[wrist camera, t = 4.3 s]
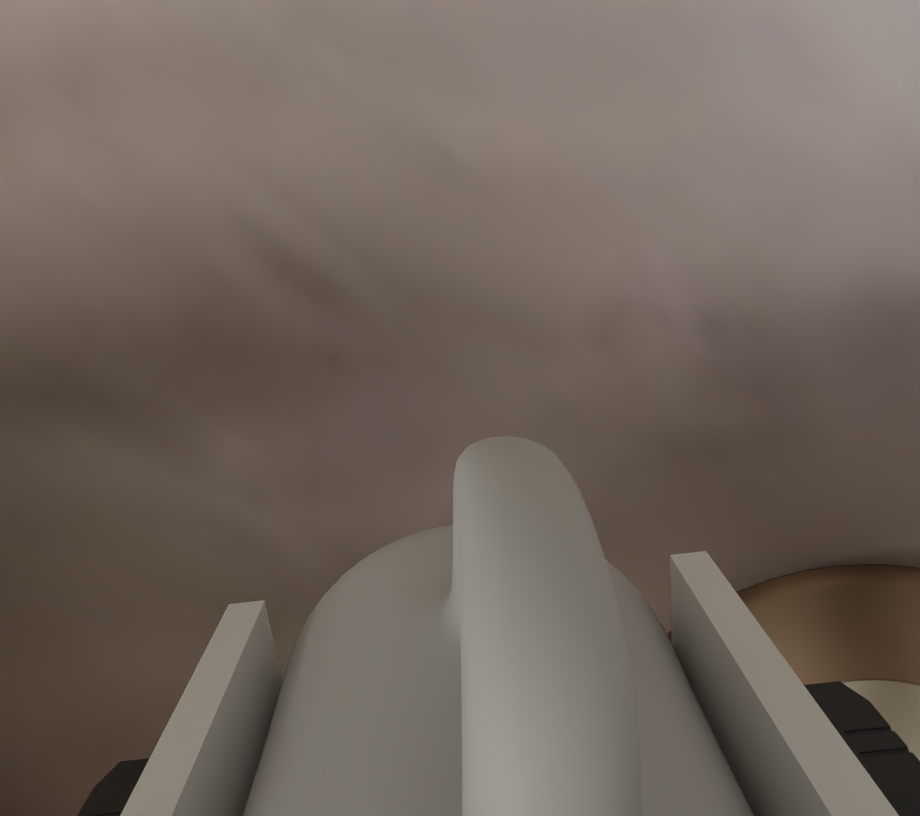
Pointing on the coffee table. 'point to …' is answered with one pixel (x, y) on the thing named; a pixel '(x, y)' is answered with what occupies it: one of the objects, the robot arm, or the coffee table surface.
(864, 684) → the ring
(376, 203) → the coffee table surface
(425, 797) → the mug
